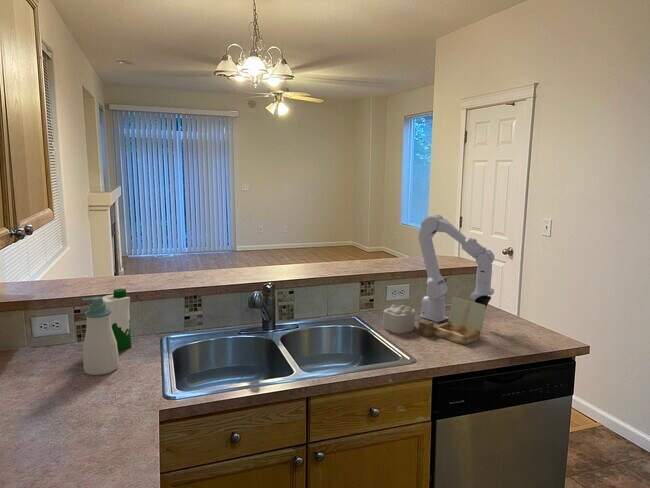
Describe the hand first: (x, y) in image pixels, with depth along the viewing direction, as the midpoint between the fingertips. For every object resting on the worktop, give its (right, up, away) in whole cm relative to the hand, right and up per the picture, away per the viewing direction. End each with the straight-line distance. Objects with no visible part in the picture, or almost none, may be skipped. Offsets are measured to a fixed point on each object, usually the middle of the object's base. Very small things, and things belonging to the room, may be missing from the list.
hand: (480, 313), depth 185 cm
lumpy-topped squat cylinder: (-33, -6, -1) cm, 33 cm away
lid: (-8, +1, -8) cm, 11 cm away
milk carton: (-135, -8, -27) cm, 138 cm away
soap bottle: (-132, -11, -44) cm, 140 cm away
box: (-13, -7, -10) cm, 18 cm away
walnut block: (-24, -7, -8) cm, 26 cm away
